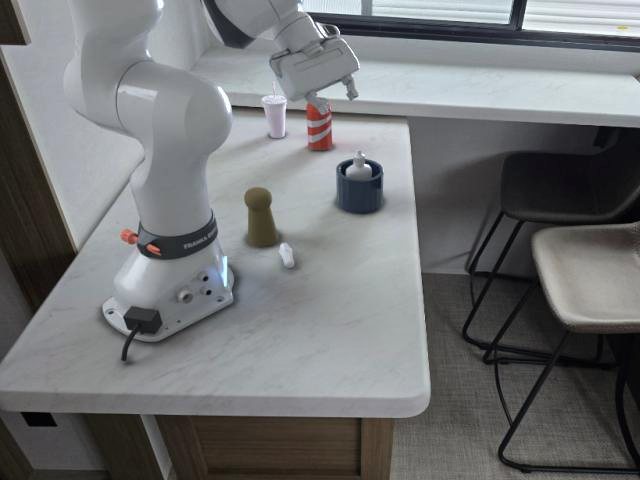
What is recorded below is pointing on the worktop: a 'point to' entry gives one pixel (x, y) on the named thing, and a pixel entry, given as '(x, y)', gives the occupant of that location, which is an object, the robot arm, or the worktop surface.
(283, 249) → the small white plastic part
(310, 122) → the beverage can
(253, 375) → the worktop surface
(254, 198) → the olive pawn
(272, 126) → the smoothie
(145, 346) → the worktop surface
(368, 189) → the dark blue round pot
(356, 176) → the eye dropper bottle
